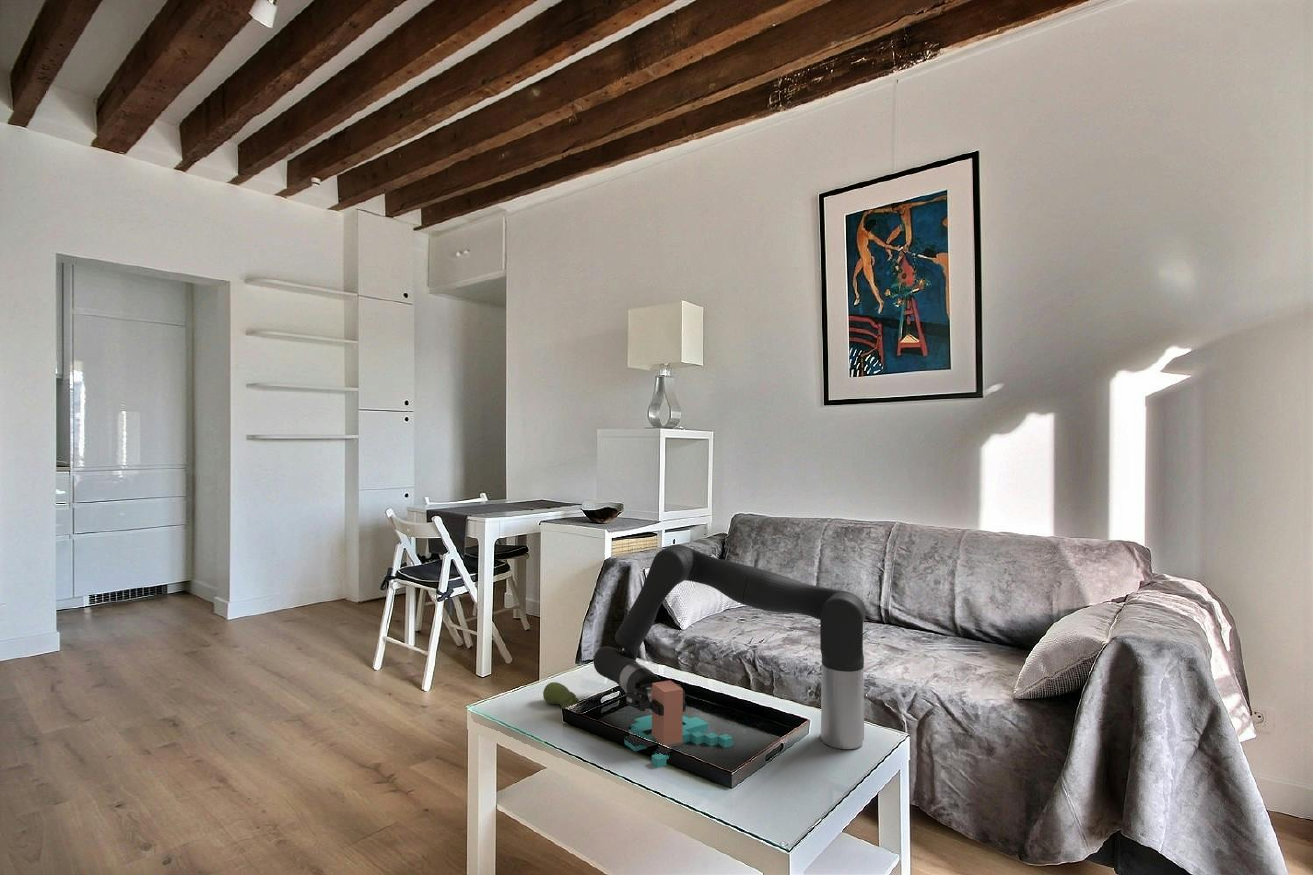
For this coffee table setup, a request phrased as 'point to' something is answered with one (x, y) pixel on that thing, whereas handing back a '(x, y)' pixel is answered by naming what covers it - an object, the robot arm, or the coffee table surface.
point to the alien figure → (690, 732)
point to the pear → (559, 695)
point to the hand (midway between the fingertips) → (672, 709)
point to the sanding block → (668, 713)
